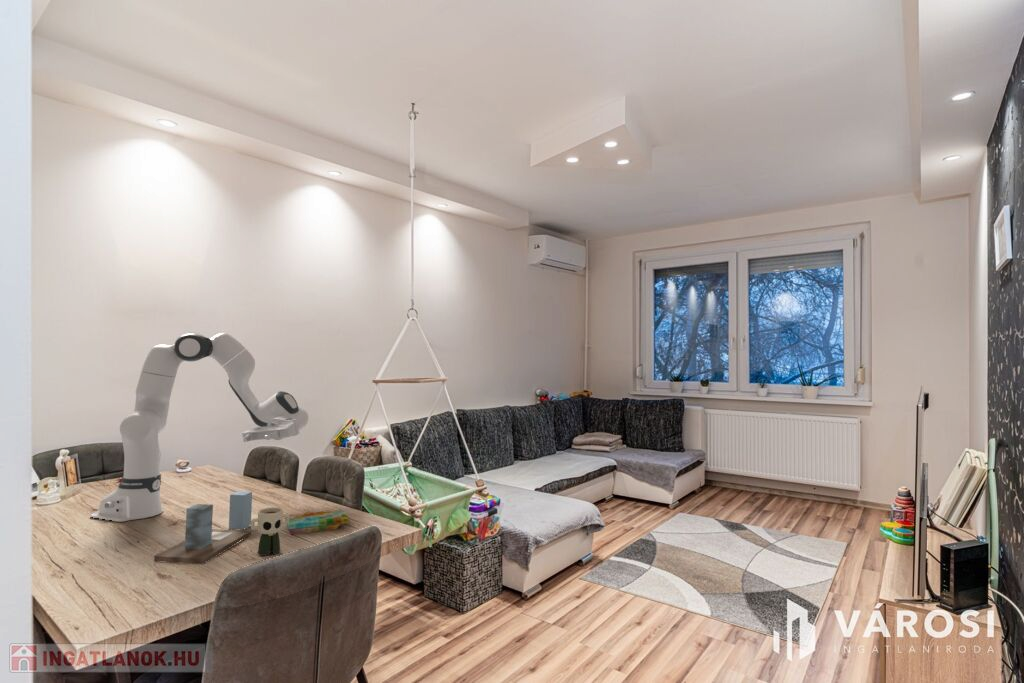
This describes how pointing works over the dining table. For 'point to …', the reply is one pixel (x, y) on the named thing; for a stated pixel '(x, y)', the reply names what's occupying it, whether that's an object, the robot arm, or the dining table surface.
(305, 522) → the puzzle game
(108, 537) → the dining table surface
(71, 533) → the dining table surface
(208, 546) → the base board
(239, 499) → the pillar block
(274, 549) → the character mug
